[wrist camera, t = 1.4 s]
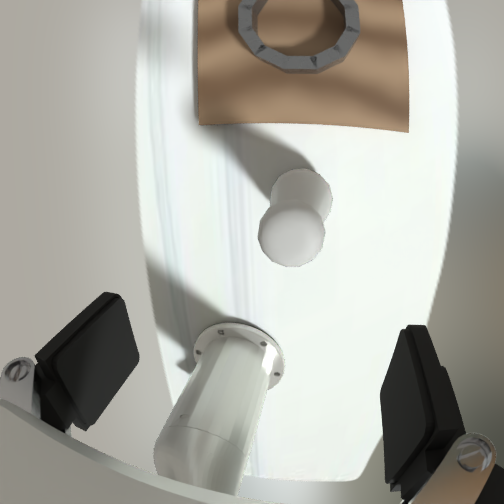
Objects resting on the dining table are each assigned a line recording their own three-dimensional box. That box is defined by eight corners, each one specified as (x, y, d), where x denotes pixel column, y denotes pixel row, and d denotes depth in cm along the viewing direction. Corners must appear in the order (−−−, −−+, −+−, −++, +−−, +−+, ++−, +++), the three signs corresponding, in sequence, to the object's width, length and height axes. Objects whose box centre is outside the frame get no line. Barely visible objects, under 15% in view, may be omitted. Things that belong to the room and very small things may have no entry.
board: (404, 132, 25) (408, 132, 24) (204, 125, 30) (198, 125, 28) (391, -39, 18) (394, -45, 16) (204, -36, 22) (199, -42, 20)
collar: (359, 77, 23) (362, 72, 21) (245, 74, 25) (238, 70, 23) (352, -17, 19) (354, -28, 17) (244, -16, 21) (238, -26, 19)
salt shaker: (266, 174, 30) (229, 207, 19) (322, 158, 28) (322, 180, 17) (284, 227, 32) (260, 290, 20) (338, 214, 30) (346, 272, 19)
